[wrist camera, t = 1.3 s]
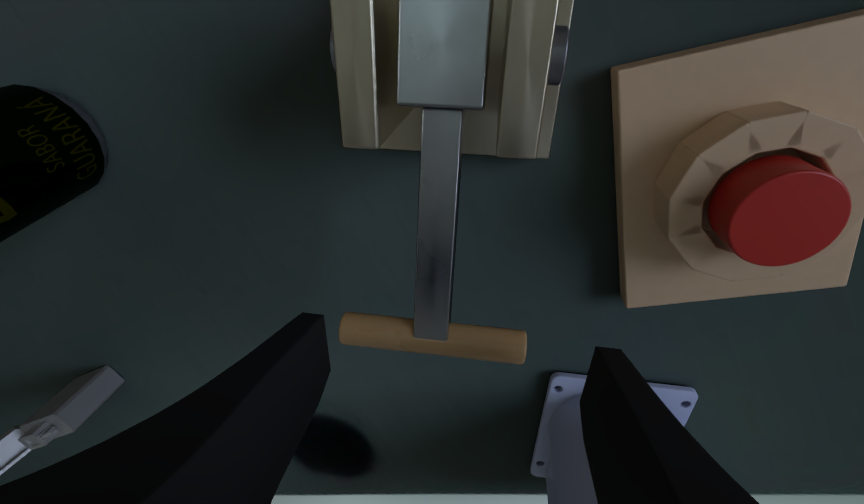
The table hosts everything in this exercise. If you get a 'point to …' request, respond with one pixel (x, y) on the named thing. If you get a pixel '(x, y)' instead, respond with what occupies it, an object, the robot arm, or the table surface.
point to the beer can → (44, 155)
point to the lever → (439, 179)
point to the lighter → (59, 415)
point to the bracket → (483, 130)
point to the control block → (732, 154)
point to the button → (778, 210)
